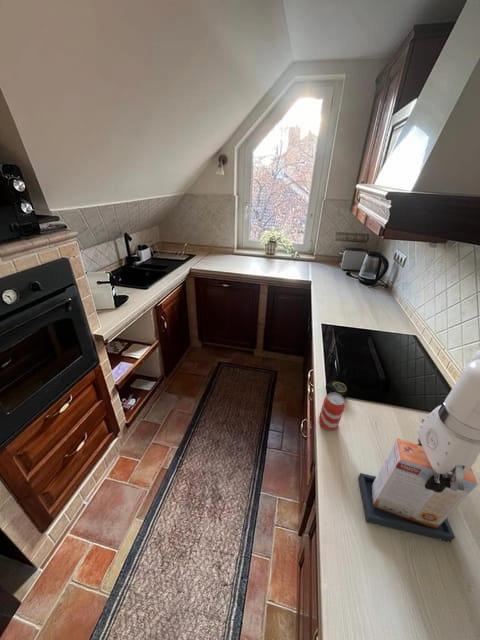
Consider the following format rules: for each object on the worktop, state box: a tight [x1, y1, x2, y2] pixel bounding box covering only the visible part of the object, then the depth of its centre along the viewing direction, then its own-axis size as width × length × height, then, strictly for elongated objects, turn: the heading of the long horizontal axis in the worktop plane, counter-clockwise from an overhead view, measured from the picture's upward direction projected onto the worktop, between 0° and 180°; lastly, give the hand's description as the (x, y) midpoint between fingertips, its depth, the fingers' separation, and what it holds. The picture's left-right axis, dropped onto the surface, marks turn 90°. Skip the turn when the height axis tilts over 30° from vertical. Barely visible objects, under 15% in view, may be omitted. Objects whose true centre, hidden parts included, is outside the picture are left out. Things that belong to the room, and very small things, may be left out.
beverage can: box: [318, 392, 346, 431], centre depth 83 cm, size 6×6×12 cm
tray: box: [357, 472, 456, 543], centre depth 64 cm, size 19×11×2 cm, turn 78°
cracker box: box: [372, 438, 478, 530], centre depth 59 cm, size 14×6×21 cm, turn 69°
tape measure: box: [325, 380, 348, 399], centre depth 97 cm, size 7×7×4 cm
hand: (425, 471), depth 57 cm, fingers closed on cracker box, 6 cm apart
